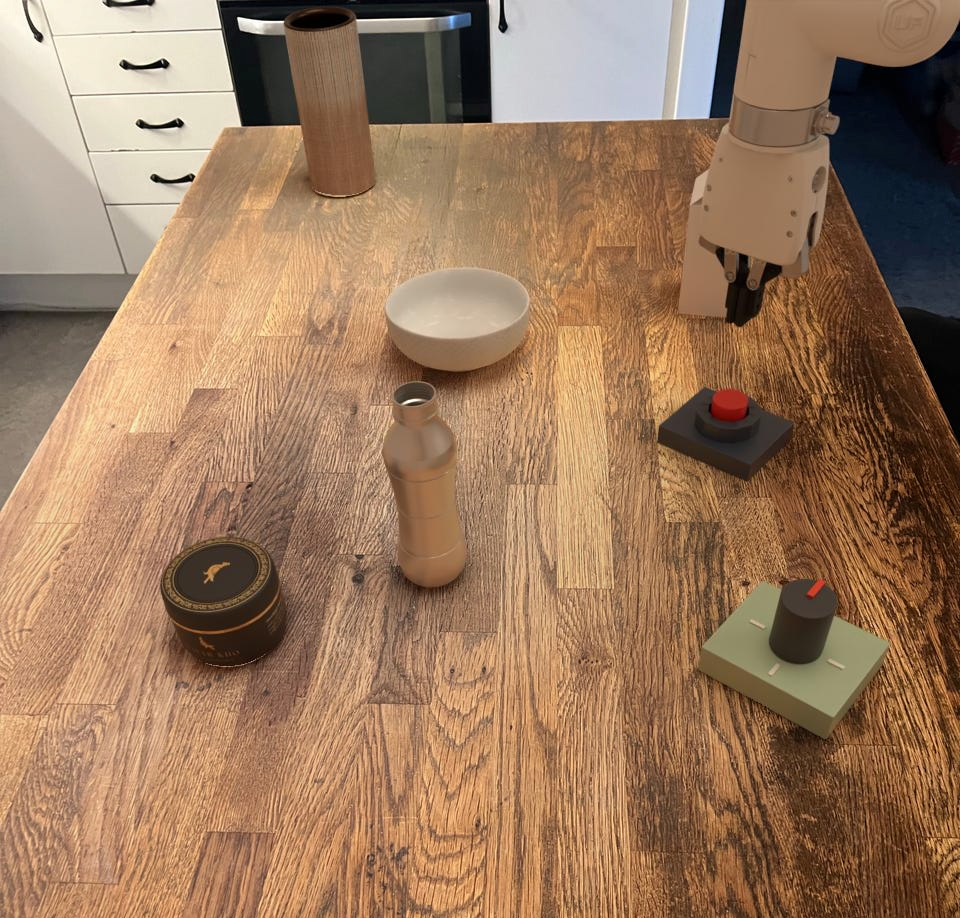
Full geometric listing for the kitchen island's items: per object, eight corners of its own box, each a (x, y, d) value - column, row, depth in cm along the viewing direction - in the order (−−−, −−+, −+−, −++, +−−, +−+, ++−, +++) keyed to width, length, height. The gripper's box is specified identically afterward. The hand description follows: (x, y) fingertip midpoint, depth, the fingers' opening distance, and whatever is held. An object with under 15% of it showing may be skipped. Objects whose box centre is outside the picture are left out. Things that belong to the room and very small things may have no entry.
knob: (807, 672, 81) (822, 623, 76) (758, 647, 83) (770, 599, 78) (832, 640, 83) (848, 591, 78) (785, 617, 85) (798, 568, 80)
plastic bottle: (481, 561, 96) (470, 382, 81) (444, 606, 92) (425, 427, 77) (425, 540, 98) (403, 362, 83) (386, 583, 94) (357, 405, 79)
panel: (881, 666, 85) (891, 641, 82) (825, 740, 80) (834, 716, 77) (756, 603, 90) (762, 578, 88) (696, 669, 85) (701, 645, 83)
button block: (790, 439, 106) (798, 407, 103) (747, 482, 102) (753, 450, 99) (702, 403, 111) (706, 372, 108) (656, 442, 107) (660, 411, 104)
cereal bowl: (551, 332, 122) (552, 278, 117) (496, 406, 112) (494, 350, 107) (429, 307, 128) (424, 255, 122) (365, 376, 118) (357, 322, 112)
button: (752, 410, 104) (755, 396, 102) (734, 427, 102) (736, 413, 101) (722, 398, 105) (724, 384, 104) (704, 415, 104) (706, 400, 102)
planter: (309, 175, 156) (281, 10, 139) (372, 167, 157) (352, 2, 140) (313, 202, 150) (284, 33, 133) (379, 194, 150) (359, 25, 134)
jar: (165, 670, 88) (139, 610, 82) (201, 590, 95) (180, 530, 89) (274, 678, 87) (255, 618, 81) (303, 597, 93) (287, 536, 88)
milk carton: (675, 326, 122) (693, 168, 108) (682, 297, 126) (699, 142, 112) (735, 331, 120) (760, 172, 106) (739, 302, 125) (764, 145, 111)
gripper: (882, 123, 80) (830, 327, 94) (721, 84, 87) (695, 280, 101) (838, 155, 77) (791, 362, 90) (674, 111, 84) (653, 311, 97)
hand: (740, 318), depth 96 cm, fingers closed
